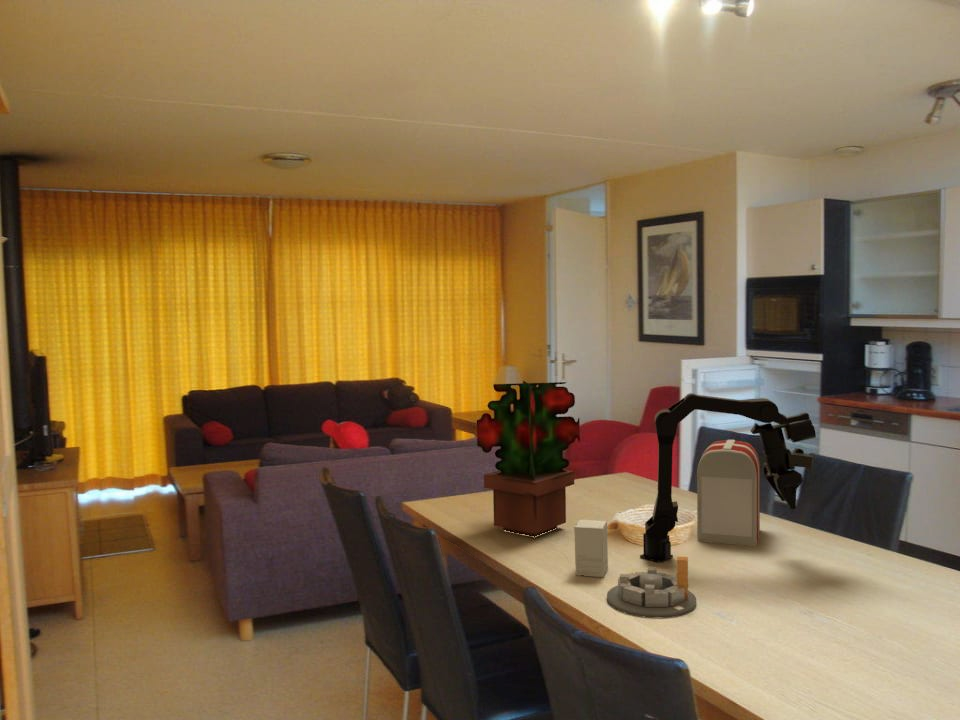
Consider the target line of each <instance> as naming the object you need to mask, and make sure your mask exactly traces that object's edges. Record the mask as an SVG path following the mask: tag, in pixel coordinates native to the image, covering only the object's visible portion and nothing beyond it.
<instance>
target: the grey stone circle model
mask: <svg viewBox="0 0 960 720" xmlns="http://www.w3.org/2000/svg"><path fill="white" fill-rule="evenodd" d="M645 584H647V585H655V590H662V577H661V576H660V575H657V574H643V575H641V576H640V588H641V589H645ZM606 601H607V603H608V605H609V606H611V608H613V607H614V608H613V609H615V610H616V611H619V610H620V611H619V612H621V611H622V612H621V613H624V612H625V613H624V614H627V613H628V615H631V614H632V615H631V616H636V615H637V616H636V617H642V616H645V617H644V618H653V617H663V618H674V617H679V616H683V615H686V614H689V613H690V612H692V611H694V610H695V608H696V607H697V597H696V595H695V594H694V593H693V592H691V591H690V590H688V600H686V599H684V601H682V602H680V603H678V604H676V605H673V606H669V605H668V607H645V605H644V606H638V605H635V604H632V603H629V602H626V601H623V599H621V598H620V595H619V593H618V585H615V586H613V587H612V588H610V589H609V590H608V591H607V593H606ZM673 616H674V617H673Z"/></svg>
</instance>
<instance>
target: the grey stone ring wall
mask: <svg viewBox="0 0 960 720" xmlns="http://www.w3.org/2000/svg"><path fill="white" fill-rule="evenodd" d="M657 569H658V567H651V566H650V567H649V566H648V567H647V571H635V572H630V573H626V574H625V573H620V574H619V577H618V578H617V586H618V593H619V595H620V598H621V599H623V601H626V602H629V603H632V604H635V605H638V606H644V605H645V607H668V605H669V606H673V605H676V604H678V603H680V602H682V601H684V599H686V600H688V591H689V557H688V556H676V576H674V575H671V574H669V573H668V574H667V573H664V572H657ZM643 574H657V575H660V576H661V577H662V590H655V585H647V584H645V589H641V588H640V576H641V575H643Z"/></svg>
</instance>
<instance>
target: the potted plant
mask: <svg viewBox="0 0 960 720" xmlns="http://www.w3.org/2000/svg"><path fill="white" fill-rule="evenodd" d="M567 383H568V381H563V382H562V381H559V382H557V381H555V382H553V381H552V382H529V383H528V382H527V381H525V380H522V383H521V382H520V383H518V382H517V383H494V384H493V387H492V388H493V390H494V391H496V392H498V393H505V394H502V395H501V396H500V399H499V400H490V401H489V402H488V403H487V405H486V406H487V409H489V410H490V411H492V412H493V417H492V416H491V414H490V413H489V412H485V413H482V415H481V417H480V419H477V420H476V442H477V443H476V447H478V448H481V450H482V452H483V453H485V454H489V453H491V452H492V450H493V448H495V447H500V448H498V449H496V450H495V452H494V456H495V458H497V459H499V461H496V463H495V465H494V467H495V469H496V471H493V472H490V473H486V474H483V488H484V489H489V490H492V491H493V492H492V493H493V497H492V498H493V501H492V502H493V526H495V527H500V528H502V531H503V530H506V531H510V532H514V533H519V534H525V535H529V536H534V537H535V536H537V535H540V534H542V533H545V532H548V531H550V530H553V529H555V528H557V529H558V526H561V525H563V524H565V523H567V507H566V505H567V499H566V498H567V497H566V495H567V493H566V491H567V490H566V488H567V487H570V486H572V485H575V471H573V470H565V469H566V468H568V467H569V466H570V462H569V459H567V458H565V457H564V455H563V454H564V453H563V452H564V451H566V450H567V449H569V447H570V445H572V444H573V443H575V441H576V439H577V442H579V443H581V440H580V439H581V438H580V434H581V432H580V431H581V429H580V427H581V426H580V423H581V422H580V417H578V419H577V421H576V420H575V417H573V416H557V415H565V414H567V413H568V412H569V410H570V409H571V408H573V407H574V406H575V404H576V400H575V399H576V397H575V394H574V393H573V392H570V391H569V390H568V387H566V386H557V385H564V384H567ZM513 386H518V387H519V398H518V392H517V389H515V388H513ZM511 405H512V406H511ZM511 407H512V408H511ZM512 410H513V411H512Z"/></svg>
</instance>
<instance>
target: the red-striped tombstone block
mask: <svg viewBox="0 0 960 720" xmlns="http://www.w3.org/2000/svg"><path fill="white" fill-rule="evenodd" d="M760 470H761V463H760V457H759V455H758V452H757V451H756V448H754V447H753V446H752V445H751V444H750V443H748V442H746V441H740V440H735V439H726V440H717V441H714V442H712V443H710V445H709V446H708V447H706V449H705V450H704V452H703V453H702V455H701V458H700V460H699V462H698V465H697V471H696V490H697V491H696V492H697V493H696V498H697V500H696V501H697V503H696V504H697V505H696V506H697V507H696V511H697V513H696V515H697V517H696V520H697V522H696V523H697V526H696V527H697V528H696V529H697V537H696V538H697V540H698V541H697V542H704V543H705V542H706V543H714V542H716V543H715V544H726V545H727V544H728V545H737V544H738V546H748V547H749V546H751V547H757V545H758V541H759V539H760V532H761V529H760V524H761V523H760V518H761V516H760V515H761V511H760V507H761V506H760V505H761V504H760V503H761V501H760V500H761V499H760V498H761V497H760V495H761V491H760V488H761V487H760V486H761V482H760V481H761V476H760V473H761V471H760Z"/></svg>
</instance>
